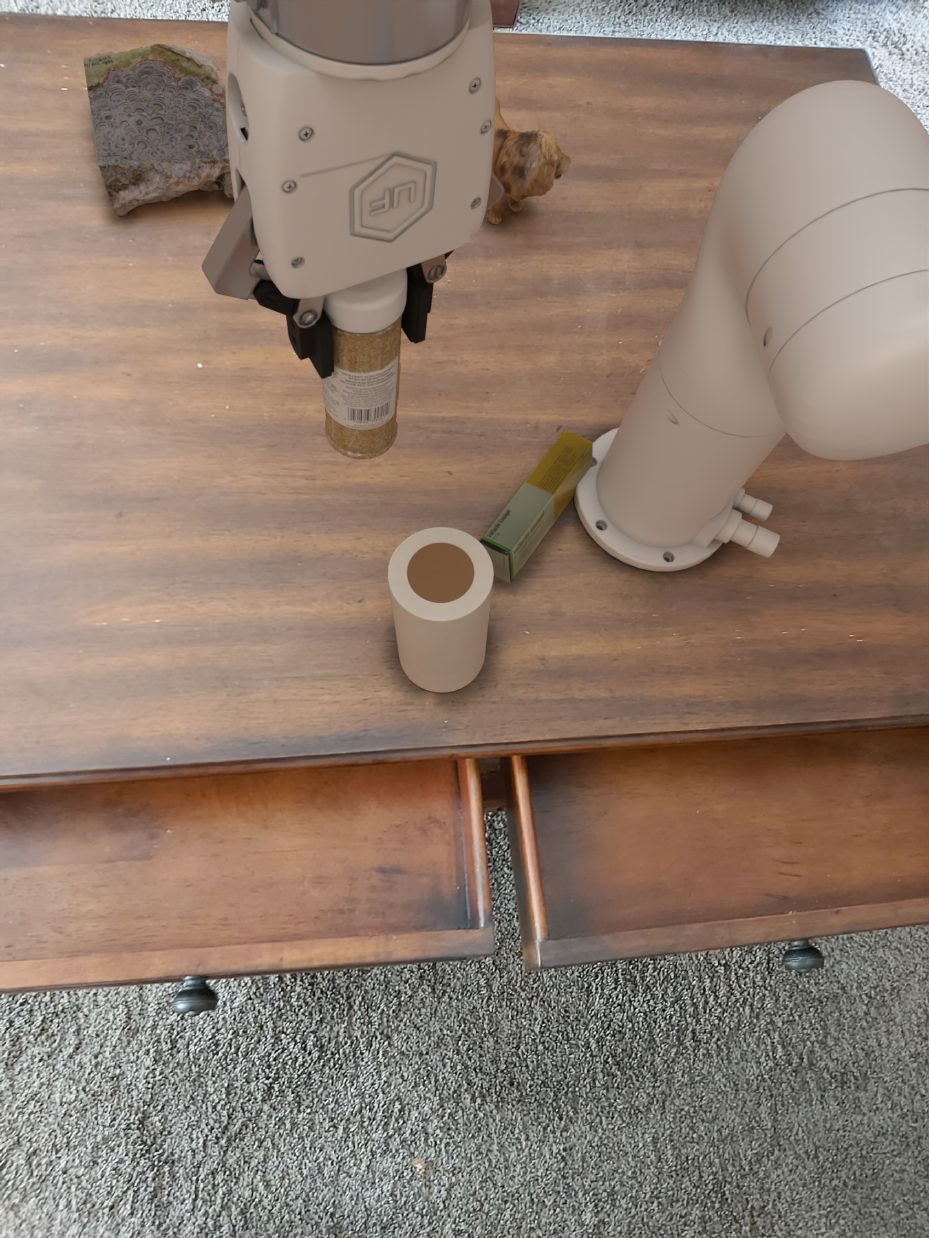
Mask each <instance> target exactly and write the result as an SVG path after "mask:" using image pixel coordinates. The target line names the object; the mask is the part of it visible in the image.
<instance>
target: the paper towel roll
mask: <svg viewBox="0 0 929 1238" xmlns="http://www.w3.org/2000/svg"><path fill="white" fill-rule="evenodd" d="M479 541H480V540H478V539H477V538H475V537H474V536H472V535H471V534H469V533H467V532H466V531H463V530H461V529H458V528H454V527H448V526H447V527H446V526H434V527H427V528H424V529H421V530H418V531H416V532H414V533H412V534H411V535H409V536H407V537H406V538H405V539H403V540H402V541H401V542H400V543H399V545H398V546H396V547H395V550H394V551H393V553H392V554H391V556H390V559H389V562H388V567H387V582H388V590H389V591H388V592H389V596H390V604H391V611H392V617H393V618H392V619H393V624H394V631H395V638H396V647H397V651H398V658H399V662H400V666H401V669H402V670H403V672H404V674H405V675H406V677H407V678H408V679H409V680H410V681H411V682H412V683H413V684H414V685H416V686H418V687H419V688H421V689H424V690H425V691H429V692H434V693H451V692H455V691H457V690H458V691H459V690H461V689H463V688H464V687H466V686H468V685H469V684H471V683H472V682H473V681H474V680H475V679H476V678H477V676H478V675H479V674H480V672H481V670H482V668H483V665H484V663H485V658H486V651H487V650H486V648H487V641H488V632H489V621H490V613H491V606H492V605H491V604H492V595H493V587H494V577H495V576H494V570H493V564H492V561H491V558H490V556H489V554H488V552H487V551H486V549H485V548H484V546H483V545H482V544H481V543H480V542H479Z"/></svg>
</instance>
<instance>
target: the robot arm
mask: <svg viewBox="0 0 929 1238" xmlns="http://www.w3.org/2000/svg"><path fill="white" fill-rule="evenodd" d="M223 1H224V0H210V2H212V3H214V4H215V3H218V2H219V3H220V2H223ZM495 56H496V52H495V39H494V27H493V14H492V5H491V0H230V1H229V9H228V20H227V32H226V47H225V79H224V80H225V81H224V82H225V90H224V91H225V105H226V120H227V135H228V149H229V160H230V170H231V180H232V187H233V194H234V198H233V199H234V200H233V201H234V203H233V205H232V208H231V209H230V210H229V213H228V215H227V217H226V219H225V221H224V222H223V224H222V226H221V228H220V229H219V232H218V233H217V235H216V238H215V239H214V241H213V243H212V245H211V246H210V248H209V250H208V252H207V254H206V255H205V257H204V260H203V261H202V263H201V270H202V272H203V274H204V276H205V278H206V279H207V281H208V283H209V285H210V287H211V288H212V290H213V291H214V292H215V293H216V294H218V295H220V296H226V297H230V298H235V299H239V300H243V301H249V300H254V301H256V302H257V303H258V305H259V306H261V307H263V308H265V309H268V310H271V311H274V312H276V313H278V314H281V315H284V316H285V320H286V327H287V329H286V330H287V335H288V340H289V342H290V345H291V347H292V349H293V351H294V353H295V355H296V356H297V358H298V359H299V360H300V361H303V360H306V359H309V361H310V362H311V364H312V366H313V368H314V369H315V371H316V373H317V374H318V376H319V378H320V379H321V380H322V379H324V378H327V377H330V376H332V372H334V353H333V332H332V324H331V321H330V319H329V318H328V316H327V314H326V313H325V311H324V309H323V303H324V299H325V295H326V294H330V293H333V292H336V291H339V290H343V289H346V288H349V287H352V286H355V285H358V284H361V283H363V282H366V281H369V280H372V279H375V278H378V277H381V276H384V275H387V274H390V273H393V272H395V271H398V270H401V269H404V268H406V271H407V298H406V305H405V308H404V311H403V313H402V319H401V331H403V333H404V335H405V336H406V338H407V339H408V341H409V343H413V344H415V345H416V344H420V343H422V342H425V340H426V335H427V325H428V315H429V314H430V313H431V312H432V304H433V296H434V287H435V283H437V282H438V281H440V280H442V278H444V276H445V275H446V273H447V272H448V265H447V261H446V260H447V259H448V258H449V257H450V256H451V255H452V254H453V252H454V251H455V250H457V249H458V248H460V247H463V246H464V245H466V244H467V243H469V242H470V241H472V240H473V238H474V237H476V236H477V234H478V233H479V231H480V230H481V227H482V225H483V223H484V220H485V217H486V216H485V215H486V214H487V213H489V210H490V209H491V208H492V207H493V206H494V205H495V204H496V203H497V202H498V201H500V199H501V198H502V199H503V197H504V195H505V193H504V192H505V189H504V187H503V185H502V184H501V183H500V181H499V180H498V179H497V177H496V176H495V174H494V173H493V172H492V170H491V169H492V159H493V146H494V130H495V108H496V97H497V89H496V88H497V86H496V85H497V84H496V81H497V80H496V57H495ZM714 193H715V194H714V197H713V200H712V203H711V206H710V209H709V213H708V215H707V219H706V222H705V226H704V230H703V232H702V233H703V234H702V237H701V240H700V245H699V249H698V253H697V256H696V259H695V264H694V267H693V270H692V273H691V276H690V278H689V281H688V284H687V287H686V289H685V290H684V291H685V292H684V293H683V296H682V299H681V301H680V304H679V305H678V308H677V310H676V312H675V313H674V316H673V318H672V320H671V323H670V324H669V326H668V329H667V331H666V333H665V334H664V336H663V337H662V340H661V341H660V344H659V346H658V348H657V350H656V351H655V354H654V356H653V358H652V360H651V362H650V364H649V366H648V368H647V370H646V372H645V374H644V376H643V378H642V380H641V382H640V384H639V386H638V389H637V391H636V392H635V394H634V397H633V398H632V400H631V402H630V405H629V406H628V408H627V411H626V412H625V415H624V417H623V419H622V420H621V423H620V425H619V427H616V428H612V429H610V430H608V431H607V432H605V433H604V434H601V435H600V436H599V437H597V438H596V439H595V440H594V441H592V443H593V454H592V466H591V467H590V469H589V470H588V472H587V473H586V474H585V475H584V477H583V478H582V479H581V481H580V482H579V483H578V485H577V487H576V490H575V493H574V497H573V498H574V506H575V510H576V512H577V515H578V517H579V520H580V522H581V524H582V526H583V527H584V529H585V530H586V532H587V533H588V534H589V536H590V537H591V538H592V539H593V540H594V542H595V543H596V544H597V545H598V546H599V547H601V549H603V550H604V551H605V552H606V553H608V554H609V555H610V556H612V557H613V558H615V559H617V560H618V561H621V562H622V563H624V564H627V565H629V566H632V567H634V568H638V569H641V570H646V571H651V572H675V571H682V570H687V569H689V568H692V567H694V566H697V565H700V564H701V563H702V562H704V561H706V560H707V559H708V558H710V557H711V556H712V555H713V554H714V553H716V551H717V550H718V549H719V548H720V547H721V545H722V544H723V543H724V544H727V543H729V542H730V541H731V542H734V543H736V544H738V545H739V546H742V547H744V549H746V550H748V551H750V552H752V553H754V554H756V555H759V556H761V557H763V558H765V559H769V558H770V557H771V556H772V555H773V553H774V552H775V550H776V549H777V547H778V545H779V543H780V540H781V535H780V534H779V533H776V532H775V531H772V530H770V529H767V528H765V527H764V526H761V525H759V524H757V525H756V524H754V523H752V522H750V521H747V520H745V519H744V518H742V517H743V513H746V514H747V515H748V516H750V517H752V518H754V519H756V520H758V521H760V522H763V523H764V522H766V521H767V519H768V518H769V516H770V515H771V513H772V510H773V508H774V506H773V504H771V503H769V502H766V501H765V500H762V499H760V498H758V497H757V498H755V497H754V496H751V495H749V494H747V493H746V488H744V487H743V486H745V484H746V483H747V482H748V481H749V479H750V478H751V477H752V476H753V474H755V472H756V471H757V470H758V468H759V467H760V466H761V465H762V463H763V462H764V461H766V458H768V456H769V455H770V454H771V452H772V451H773V450H774V449H775V448H776V447H777V445H778V444H779V443H780V442H781V440H783V438H784V437H785V436H786V435H787V434H788V436H789V437H790V439H791V440H792V441H793V442H794V443H795V444H796V445H797V446H798V447H799V448H800V449H802V450H804V451H805V452H806V453H808V454H810V455H812V456H815V457H817V458H821V459H823V460H829V461H837V462H838V461H839V462H851V461H863V460H868V459H873V458H880V457H884V456H889V455H893V454H897V453H901V452H904V451H908V450H911V449H915V448H919V447H922V446H925V445H928V444H929V132H928V130H927V129H926V128H925V126H924V125H923V123H922V121H921V120H920V119H919V117H918V116H917V115H916V114H915V112H914V111H913V110H912V109H911V108H910V107H909V105H908V104H907V103H905V102H904V101H903V100H902V99H901V98H899V97H898V96H897V95H896V94H895V93H893V92H891V91H890V90H888V89H886V88H884V87H883V86H879V85H876V84H873V83H871V82H867V81H863V80H853V79H844V80H843V79H842V80H831V81H827V82H823V83H819V84H816V85H813V86H810V87H807V88H805V89H803V90H801V91H799V92H797V93H795V94H793V95H791V96H790V97H788V98H787V99H785V100H783V101H782V102H781V103H779V104H778V105H776V106H775V107H773V108H772V109H771V110H770V111H769V112H768V113H767V114H766V115H765V116H763V117H762V118H761V119H760V120H759V121H758V122H757V124H755V126H754V127H753V128H752V129H751V130H750V131H749V132H748V134H747V135H746V136H745V138H744V139H742V141H741V143H740V144H739V146H738V147H737V149H736V150H735V152H734V154H733V155H732V156H731V159H730V160H729V162H728V164H727V167H726V169H725V170H724V173H723V175H722V177H721V178H720V181H719V184H718V185H717V188H716V190H715V192H714ZM258 255H260V257H261V259H259V258H257V257H258ZM736 509H737V510H736ZM738 510H739V511H738ZM742 512H743V513H742Z"/></svg>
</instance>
